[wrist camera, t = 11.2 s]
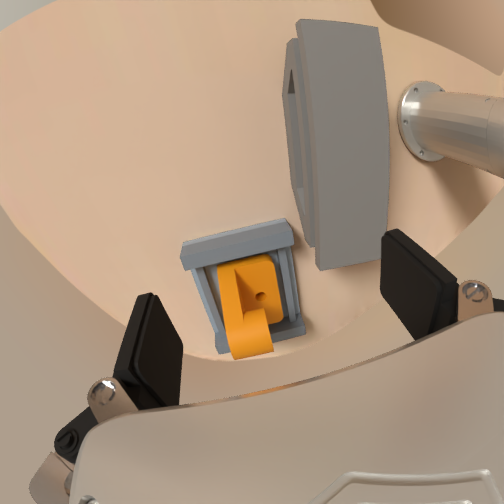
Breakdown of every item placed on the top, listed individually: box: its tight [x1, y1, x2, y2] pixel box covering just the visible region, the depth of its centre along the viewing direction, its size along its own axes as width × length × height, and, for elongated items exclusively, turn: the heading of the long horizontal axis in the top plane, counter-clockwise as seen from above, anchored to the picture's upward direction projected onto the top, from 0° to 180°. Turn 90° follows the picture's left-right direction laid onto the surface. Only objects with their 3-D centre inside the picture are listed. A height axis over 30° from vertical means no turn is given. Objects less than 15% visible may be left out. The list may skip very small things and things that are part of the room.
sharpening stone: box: [282, 19, 390, 271], centre depth 28 cm, size 25×8×11 cm, turn 7°
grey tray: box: [180, 218, 306, 354], centre depth 40 cm, size 14×18×4 cm
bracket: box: [217, 254, 283, 360], centre depth 35 cm, size 11×7×12 cm
